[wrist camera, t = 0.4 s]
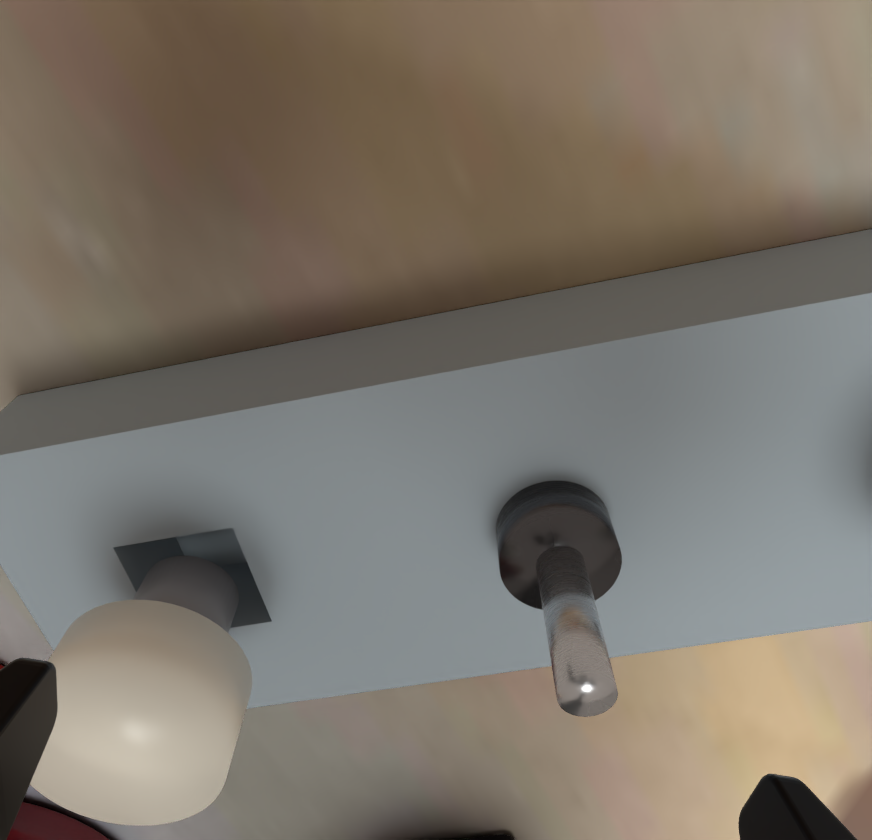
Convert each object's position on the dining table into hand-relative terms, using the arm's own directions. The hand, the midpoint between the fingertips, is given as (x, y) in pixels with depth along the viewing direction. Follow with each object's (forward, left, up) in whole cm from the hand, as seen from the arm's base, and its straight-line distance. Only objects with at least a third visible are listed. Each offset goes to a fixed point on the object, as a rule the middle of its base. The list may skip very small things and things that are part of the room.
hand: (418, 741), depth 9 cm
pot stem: (-4, -2, -10) cm, 11 cm away
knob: (-4, +8, -10) cm, 13 cm away
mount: (-4, -2, -14) cm, 15 cm away
